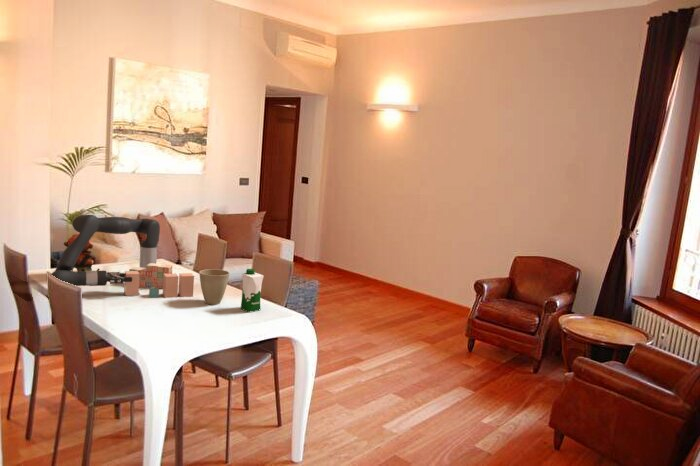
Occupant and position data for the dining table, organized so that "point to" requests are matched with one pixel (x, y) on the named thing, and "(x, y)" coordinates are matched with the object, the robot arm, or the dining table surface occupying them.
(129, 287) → the salmon pink rectangular block
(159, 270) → the stack of blocks
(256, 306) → the milk carton
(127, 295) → the grey round disc
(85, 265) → the stuffed monkey
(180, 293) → the peach rectangular block
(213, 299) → the plant pot
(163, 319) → the dining table surface
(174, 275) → the salmon rectangular block
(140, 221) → the robot arm
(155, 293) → the green cube
